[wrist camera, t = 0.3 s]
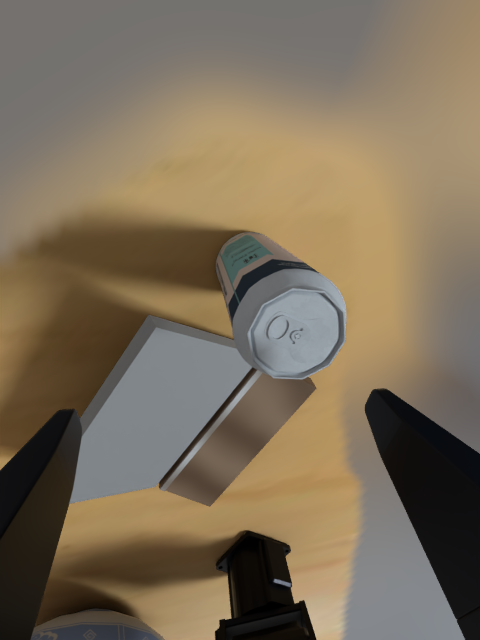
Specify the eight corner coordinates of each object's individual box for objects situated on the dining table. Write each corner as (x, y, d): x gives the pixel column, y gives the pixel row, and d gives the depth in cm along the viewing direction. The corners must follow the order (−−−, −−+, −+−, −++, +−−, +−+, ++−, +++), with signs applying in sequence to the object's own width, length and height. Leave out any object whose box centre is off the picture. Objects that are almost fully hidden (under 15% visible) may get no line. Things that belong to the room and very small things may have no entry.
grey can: (261, 304, 24) (317, 402, 13) (204, 280, 23) (214, 367, 12) (291, 248, 23) (381, 305, 12) (232, 218, 21) (273, 253, 10)
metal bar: (209, 493, 31) (210, 507, 30) (160, 475, 30) (158, 489, 28) (310, 378, 28) (316, 388, 26) (261, 349, 26) (265, 358, 24)
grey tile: (150, 475, 29) (155, 486, 28) (29, 494, 22) (31, 510, 21) (253, 345, 25) (261, 355, 24) (148, 314, 18) (156, 327, 17)
